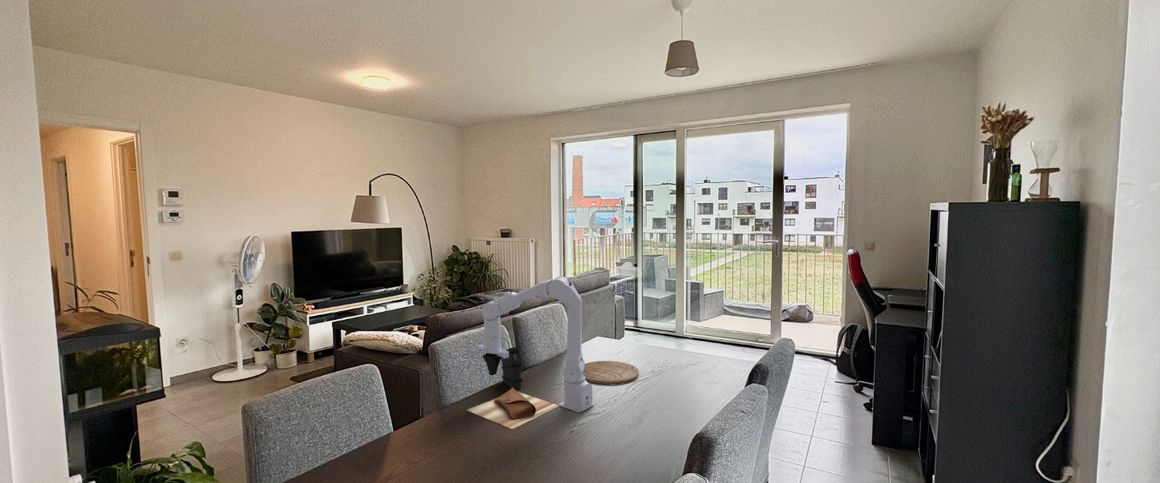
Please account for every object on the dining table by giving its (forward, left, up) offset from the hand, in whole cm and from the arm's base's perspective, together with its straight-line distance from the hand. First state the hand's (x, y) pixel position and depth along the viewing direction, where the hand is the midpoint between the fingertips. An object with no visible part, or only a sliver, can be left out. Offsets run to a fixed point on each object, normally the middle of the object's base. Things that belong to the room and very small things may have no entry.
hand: (492, 374), depth 166 cm
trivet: (-15, -48, -10) cm, 51 cm away
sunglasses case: (-11, 0, -9) cm, 14 cm away
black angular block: (+7, -15, -10) cm, 19 cm away
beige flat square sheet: (-11, 0, -9) cm, 14 cm away
